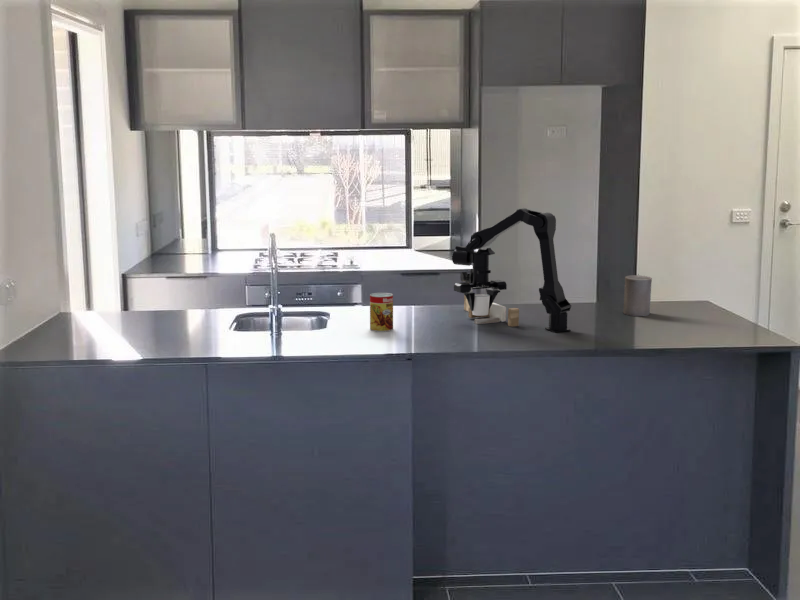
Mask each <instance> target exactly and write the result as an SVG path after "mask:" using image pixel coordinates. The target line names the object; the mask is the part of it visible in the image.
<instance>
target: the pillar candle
mask: <svg viewBox="0 0 800 600" xmlns="http://www.w3.org/2000/svg"><path fill="white" fill-rule="evenodd" d="M652 280H653V278H652V277H650V276H648V275H639V273H637V275H636V274H635V275H634V274H633V275H632V274H631V275H626V276H625V277H624V293H623V308H622V309H623V311H622V313H623V314H624V315H627V316H630V317H631V316H632V317H633V316H634V317H647V316H649V315H650V314H651V313H650V312H651V300H652V299H651V296H652V295H651V294H652Z"/></svg>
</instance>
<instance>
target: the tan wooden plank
mask: <svg viewBox="0 0 800 600" xmlns="http://www.w3.org/2000/svg"><path fill="white" fill-rule="evenodd" d="M469 308H470V306H469V303H468V301H467V298H466V296H465V295H464V294H463V310H464V311H466V312H469ZM507 310H508V313H507V326H509V327H511V328H512V327H513V328H514V327H519V325H520V320H519V319H520V308H517V307H511V308H507ZM473 319H474V318H473ZM495 323H500V321H499V318H498V317H494V318H491V317H482V318H475V319H474V322H473V324H475V325H482V324H483V325H484V324H495Z"/></svg>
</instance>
